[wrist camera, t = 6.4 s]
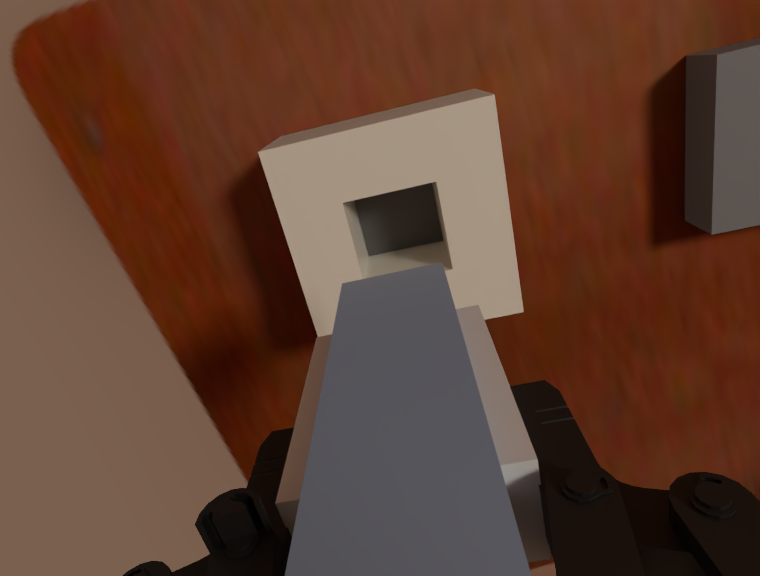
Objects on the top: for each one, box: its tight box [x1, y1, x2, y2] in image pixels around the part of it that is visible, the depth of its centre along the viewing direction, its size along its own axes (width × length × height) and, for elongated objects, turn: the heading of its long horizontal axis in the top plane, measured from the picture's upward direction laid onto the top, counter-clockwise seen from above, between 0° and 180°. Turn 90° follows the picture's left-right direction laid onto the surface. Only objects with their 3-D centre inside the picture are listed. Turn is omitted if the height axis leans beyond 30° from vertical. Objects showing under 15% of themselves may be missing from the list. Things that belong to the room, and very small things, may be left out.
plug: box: [285, 262, 531, 576], centre depth 13 cm, size 4×4×13 cm
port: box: [258, 89, 524, 337], centre depth 30 cm, size 12×12×6 cm
